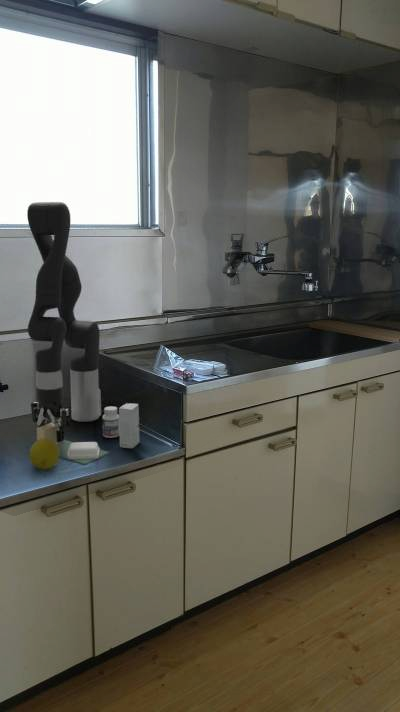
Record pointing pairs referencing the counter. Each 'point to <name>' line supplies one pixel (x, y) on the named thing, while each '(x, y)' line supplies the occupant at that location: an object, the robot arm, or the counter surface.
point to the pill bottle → (110, 422)
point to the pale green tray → (62, 443)
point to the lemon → (44, 454)
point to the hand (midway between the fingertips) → (51, 439)
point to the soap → (83, 450)
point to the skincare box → (129, 425)
